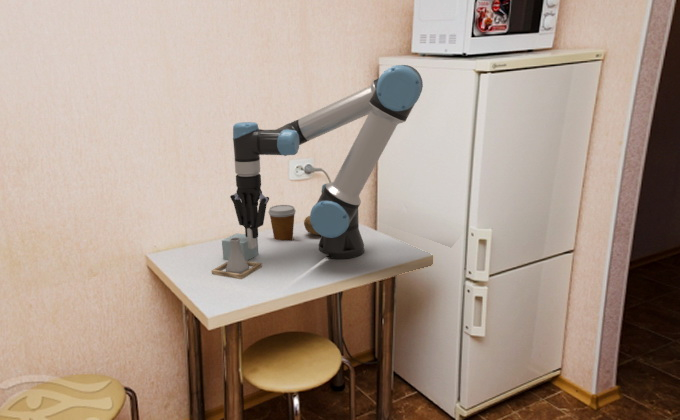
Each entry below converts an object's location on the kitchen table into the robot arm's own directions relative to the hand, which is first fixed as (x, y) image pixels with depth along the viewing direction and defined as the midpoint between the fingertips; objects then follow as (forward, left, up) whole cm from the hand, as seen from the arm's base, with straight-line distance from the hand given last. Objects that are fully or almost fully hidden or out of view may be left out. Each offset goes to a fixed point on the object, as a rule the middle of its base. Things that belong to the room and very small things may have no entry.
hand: (252, 247), depth 178 cm
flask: (-1, +10, -4) cm, 11 cm away
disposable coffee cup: (+2, -23, -5) cm, 23 cm away
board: (+2, +5, -5) cm, 8 cm away
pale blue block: (+5, 0, -4) cm, 6 cm away
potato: (-7, -35, -5) cm, 36 cm away
